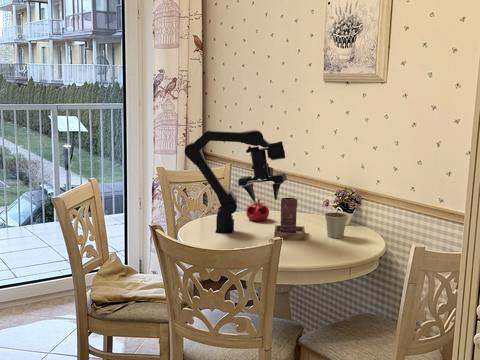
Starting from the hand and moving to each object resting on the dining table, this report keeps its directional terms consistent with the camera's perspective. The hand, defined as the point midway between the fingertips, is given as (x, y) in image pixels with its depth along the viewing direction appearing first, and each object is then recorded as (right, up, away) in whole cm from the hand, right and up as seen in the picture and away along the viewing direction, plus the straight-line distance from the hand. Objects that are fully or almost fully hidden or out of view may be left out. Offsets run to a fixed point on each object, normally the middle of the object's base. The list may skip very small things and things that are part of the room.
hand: (265, 200), depth 225 cm
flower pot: (+27, -14, -2) cm, 31 cm away
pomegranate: (-2, -9, +22) cm, 24 cm away
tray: (+9, -14, -3) cm, 17 cm away
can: (+9, -13, -3) cm, 16 cm away
